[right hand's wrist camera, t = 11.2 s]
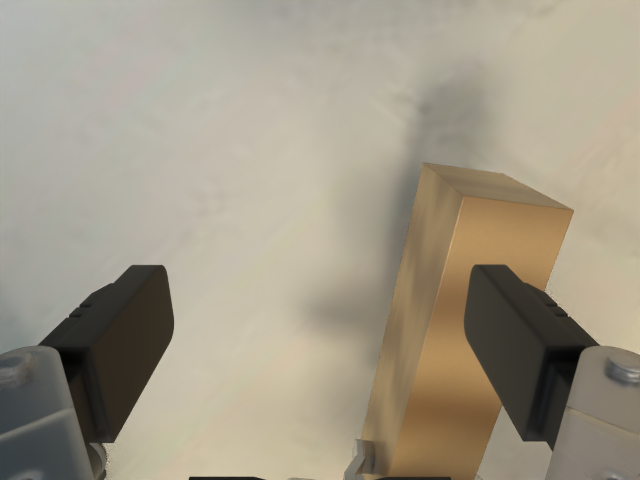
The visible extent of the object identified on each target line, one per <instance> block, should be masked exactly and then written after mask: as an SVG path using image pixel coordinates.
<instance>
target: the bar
mask: <svg viewBox="0 0 640 480" xmlns="http://www.w3.org/2000/svg"><path fill="white" fill-rule="evenodd" d="M573 212H574V210H573V209H571V208H569V207H567V206H565V205H563V204H561V203H559V202H557V201H555V200H553V199H551V198H549V197H547V196H545V195H543V194H541V193H540V192H538V191H536V190H534V189H532V188H530V187H528V186H526V185H524V184H522V183H520V182H518V181H516V180H514V179H512V178H510V177H508V176H507V175H505V174H502V173H495V172H488V171H480V170H473V169H466V168H458V167H451V166H444V165H437V164H429V163H423V165H422V170H421V174H420V179H419V183H418V188H417V192H416V196H415V201H414V205H413V210H412V214H411V219H410V223H409V228H408V232H407V237H406V241H405V245H404V250H403V254H402V259H401V263H400V268H399V272H398V277H397V281H396V285H395V290H394V294H393V299H392V303H391V308H390V312H389V317H388V321H387V326H386V330H385V334H384V339H383V343H382V348H381V352H380V357H379V361H378V366H377V370H376V374H375V379H374V383H373V388H372V392H371V397H370V401H369V406H368V410H367V414H366V419H365V423H364V428H363V432H362V437H361V440H368V441H373V444H374V451H375V461H374V465H373V469H372V473H371V474H363V473H362V475H363V476H364V480H376V479H380V478H383V477H451V480H474V479H475V476H476V473H477V471H478V468H479V465H480V463H481V460H482V457H483V455H484V452H485V449H486V447H487V444H488V441H489V438H490V436H491V433H492V430H493V428H494V425H495V422H496V420H497V417H498V414H499V412H500V409H501V406H502V402H501V401H500V399H499V397H498V395H497V393H496V392H495V390H494V388H493V386H492V384H491V383H490V381H489V379H488V377H487V375H486V374H485V372H484V370H483V368H482V366H481V365H480V363H479V361H478V359H477V357H476V356H475V354H474V352H473V350H472V348H471V347H470V345H469V343H468V341H467V339H466V335H465V331H464V313H465V307H466V300H467V293H468V286H469V280H470V274H471V270H472V268H473V266H474V265H476V264H505V265H507V266H508V267H509V268H510V269H511V270H512V271H513V272H514V273H515V274H516V275H517V276H518V277H519V278H520V279H521V280H522V281H523V282H524V283H528V284H530V285H532V286H534V287H536V288H538V289H540V290H541V291H543V292H544V290H545V288H546V285H547V282H548V280H549V277H550V274H551V272H552V269H553V266H554V263H555V261H556V258H557V255H558V253H559V250H560V247H561V245H562V242H563V239H564V237H565V234H566V231H567V228H568V226H569V223H570V220H571V218H572V215H573Z"/></svg>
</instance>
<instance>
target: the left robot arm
mask: <svg viewBox="0 0 640 480" xmlns="http://www.w3.org/2000/svg"><path fill="white" fill-rule="evenodd" d="M352 459H353V460H352V462H351V463H350V465H349V466H348V468H347V469H346V471H345V473H344V477H343V480H364V476H363V475H362V473H363V474H371V473H372V469H373V465H374V461H375V451H374V444H373V441H368V440H360V439H355V442H354V446H353V453H352ZM288 480H313V479H304V478H289V479H288ZM474 480H482V479H481V478H480V477H479V476H478V475H477V474H476V476H475V479H474Z"/></svg>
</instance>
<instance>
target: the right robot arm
mask: <svg viewBox="0 0 640 480" xmlns="http://www.w3.org/2000/svg"><path fill="white" fill-rule="evenodd" d="M173 330H174V315H173V309H172V302H171V296H170V289H169V282H168V276H167V272H166V269H165V267H164V266H163V265H132V266H130V267H129V268H128V269H127V270H126V271H125V272H124V273H123V274H122V275H121V276H120V277H119V278H118V279H117V280H116V281H115V282H114V283H110V284H108V285H107V286H105V287H103V288H101V289H99V290H97V291H95V292H93V293H92V294H91V295H90V296H89V297H88V298H86V299H85V300H84V301H83V302H82V303H81V304H80V307H79V308H76V309H75V310H74V311H73V312H72V313H71V314H70V315H69V318H66V319H65V320H63V321H62V322H61V323H60V324H59V325H58V326H57V327H56V328H55V329H54V330H53V331H52V332H51V333H50V334H49V335H48V336H47V337H46V338H45V339H44V340H43V341H42V342H41V343H39V344H38V345H37V346H30V347H24V348H19V349H16V350H12V351H9V352H6V353H4V354H1V355H0V480H104V479H105V477H106V475H107V474H106V472H105V471H104V468H105V466H106V454H105V451H104V449H103V447H102V446H101V445H100V443H114V441H115V439H116V438H117V436H118V434H119V432H120V431H121V429H122V427H123V425H124V423H125V422H126V420H127V418H128V416H129V415H130V413H131V411H132V409H133V407H134V406H135V404H136V402H137V400H138V398H139V397H140V395H141V393H142V391H143V390H144V388H145V386H146V384H147V382H148V381H149V379H150V377H151V375H152V374H153V372H154V370H155V368H156V366H157V365H158V363H159V361H160V359H161V357H162V356H163V354H164V352H165V350H166V349H167V347H168V345H169V343H170V341H171V339H172V335H173ZM464 331H465V335H466V339H467V341H468V343H469V345H470V347H471V348H472V350H473V352H474V354H475V356H476V357H477V359H478V361H479V363H480V365H481V366H482V368H483V370H484V372H485V374H486V375H487V377H488V379H489V381H490V383H491V384H492V386H493V388H494V390H495V392H496V393H497V395H498V397H499V399H500V401H501V402H502V404H503V406H504V408H505V410H506V411H507V413H508V415H509V417H510V419H511V420H512V422H513V424H514V426H515V428H516V430H517V431H518V433H519V435H520V437H521V439H522V440H523V441H546V442H547V443H548V445H549V447H550V448H551V450H552V451H553V454H552V458H551V461H550V465H549V468H548V472H547V475H546V479H545V480H640V355H639V354H636V353H634V352H631V351H628V350H624V349H621V348H616V347H610V346H600V345H599V344H598V343H597V342H596V341H595V340H594V339H593V338H592V337H591V336H590V335H589V334H588V333H587V332H586V331H585V330H584V329H582V328H581V327H580V326H579V325H578V324H577V323H576V322H575V321H574V320H573V319H572V318H571V317H568V314H567V313H566V312H565V311H564V310H563V309H562V308H561V307H558V306H557V303H556V302H555V301H554V300H552V299H551V298H550V297H549V296H548V295H547V294H546V293H545V292H543V291H541V290H540V289H538V288H536V287H534V286H532V285H530V284H528V283H524V282H523V281H522V280H521V279H520V278H519V277H518V276H517V275H516V274H515V273H514V272H513V271H512V270H511V269H510V268H509V267H508V266H507V265H505V264H476V265H474V266H473V268H472V270H471V274H470V280H469V286H468V293H467V300H466V307H465V313H464ZM189 480H264V479H260V478H257V477H189ZM376 480H451V477H383V478H380V479H376Z"/></svg>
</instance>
